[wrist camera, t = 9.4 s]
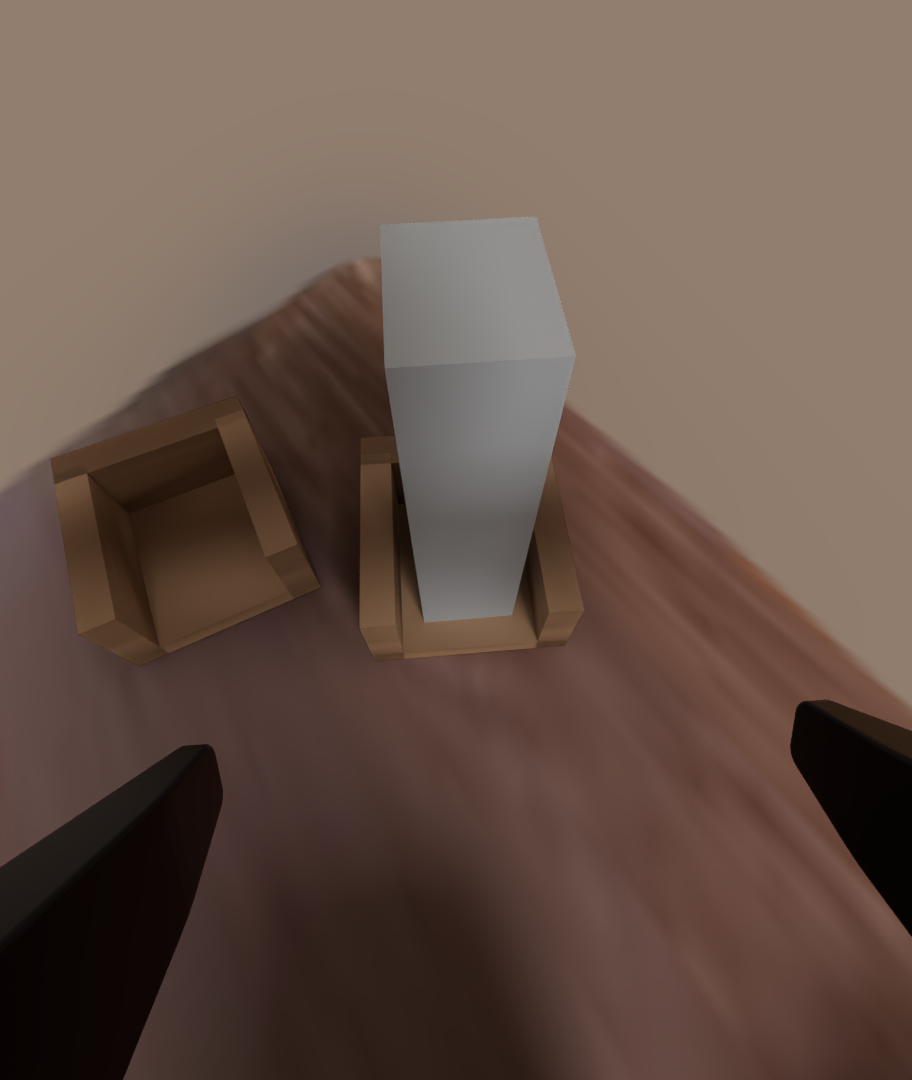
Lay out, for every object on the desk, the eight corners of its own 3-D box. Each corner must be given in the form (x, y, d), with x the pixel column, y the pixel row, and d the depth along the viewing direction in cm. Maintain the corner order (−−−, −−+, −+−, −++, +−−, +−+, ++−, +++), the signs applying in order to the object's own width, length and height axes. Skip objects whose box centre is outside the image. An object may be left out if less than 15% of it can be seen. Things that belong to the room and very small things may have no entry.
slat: (511, 615, 21) (576, 355, 10) (424, 622, 21) (384, 368, 10) (497, 519, 23) (536, 216, 12) (418, 525, 23) (380, 224, 12)
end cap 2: (564, 645, 21) (584, 610, 18) (375, 661, 21) (359, 628, 18) (532, 479, 25) (544, 425, 22) (373, 490, 25) (360, 437, 22)
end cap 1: (321, 587, 22) (297, 544, 19) (138, 666, 21) (78, 634, 18) (265, 451, 26) (237, 395, 23) (105, 509, 24) (50, 458, 21)
